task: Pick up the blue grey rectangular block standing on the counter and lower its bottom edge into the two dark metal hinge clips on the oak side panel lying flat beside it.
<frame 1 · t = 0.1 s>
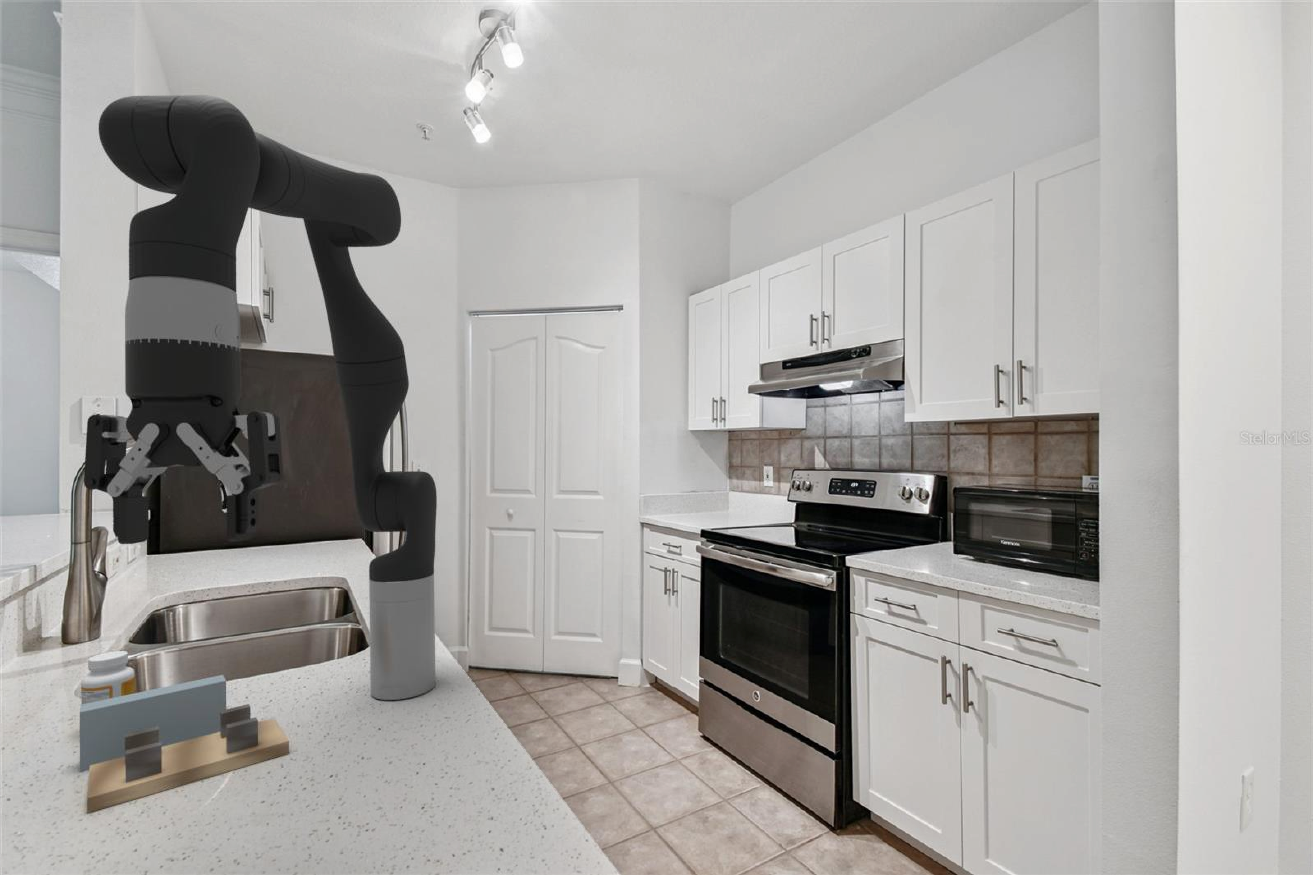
hand: (186, 541, 50), 29 cm above the counter, tool pointing down, fingers open, 8 cm apart
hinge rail: (192, 765, 72), on the counter
supplement bottle: (108, 729, 83), on the counter
blue grey rectangular block: (157, 748, 77), on the counter
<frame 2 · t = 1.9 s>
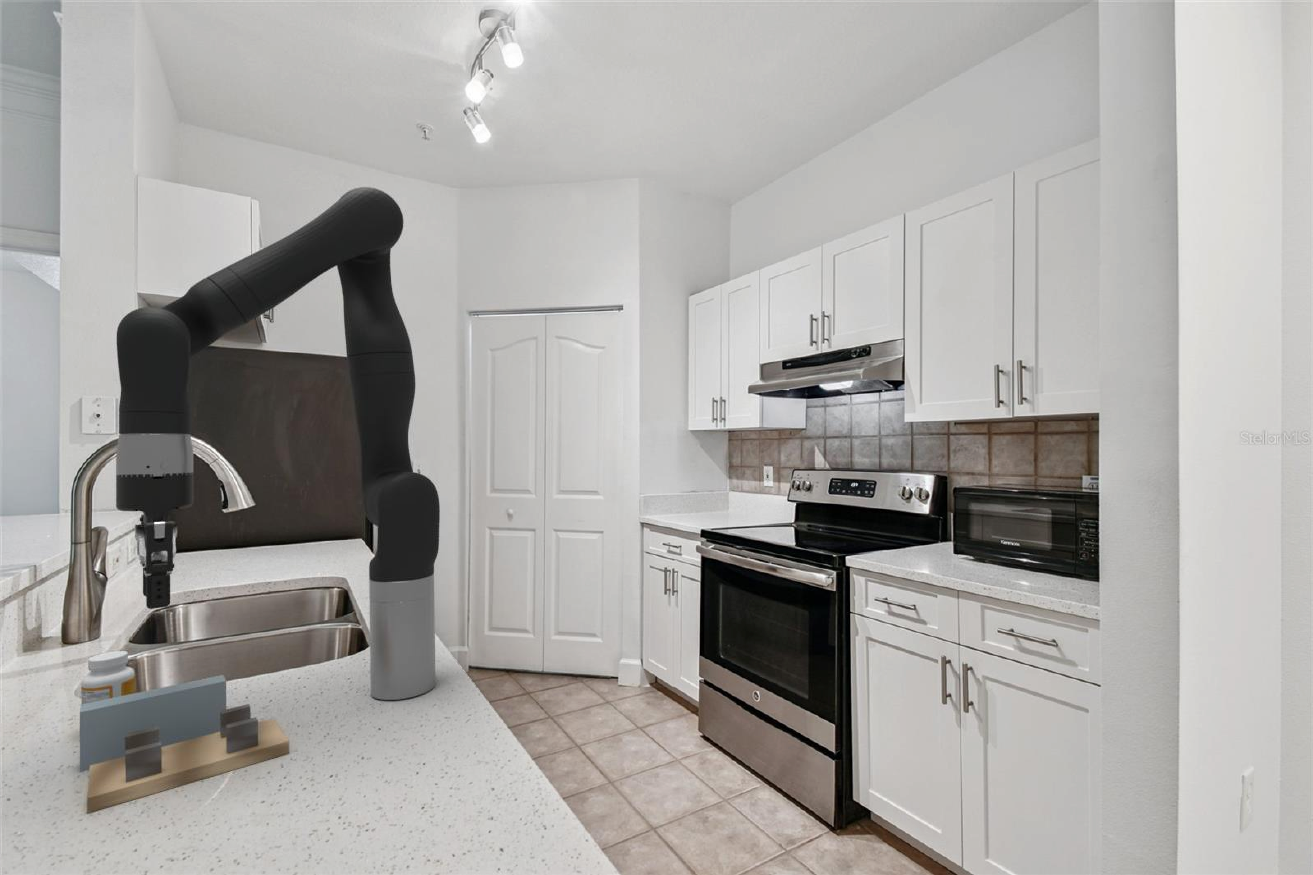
hand: (156, 601, 77), 18 cm above the counter, tool pointing down, fingers open, 8 cm apart
nothing on the counter moved.
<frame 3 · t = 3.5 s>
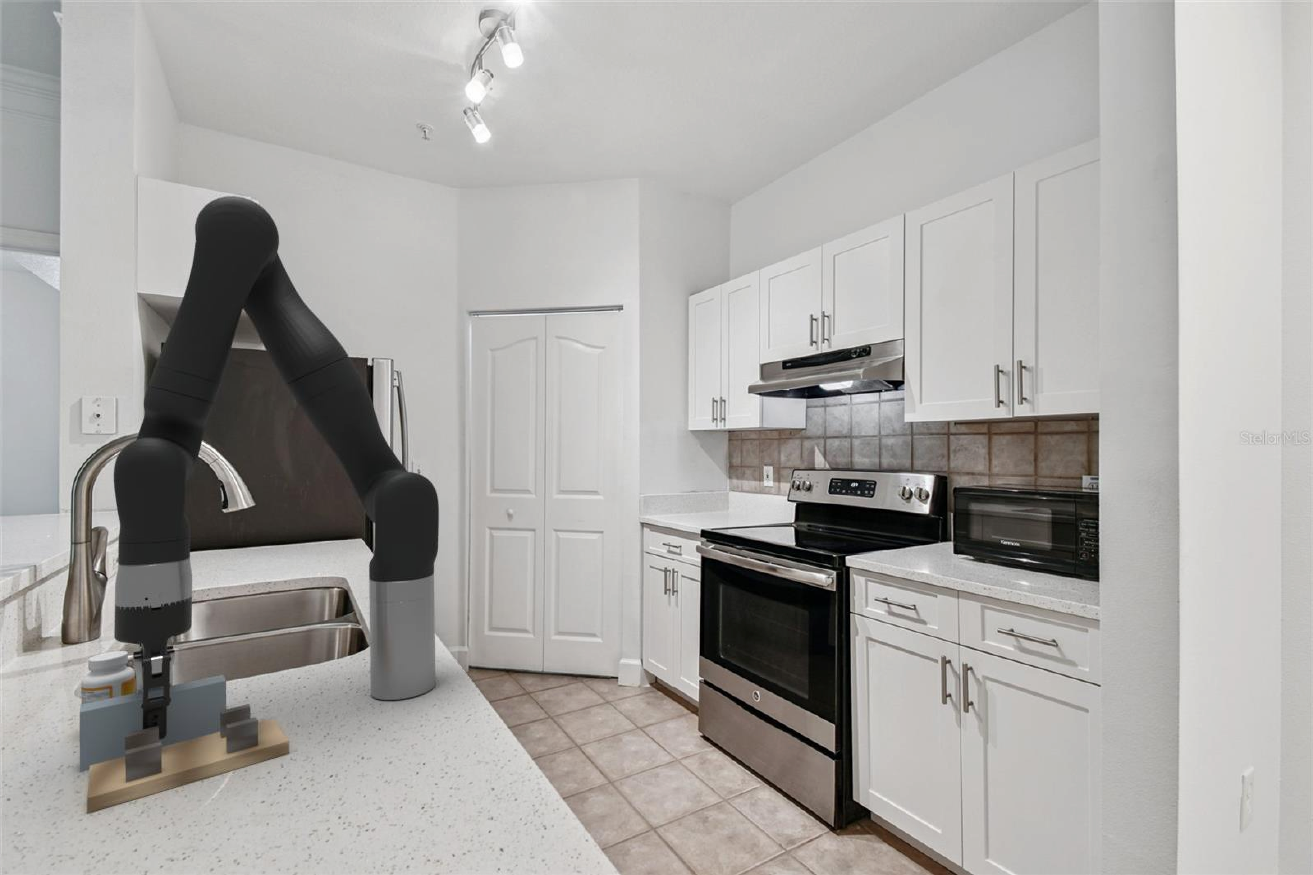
hand: (152, 728, 77), 2 cm above the counter, tool pointing down, fingers open, 8 cm apart
nothing on the counter moved.
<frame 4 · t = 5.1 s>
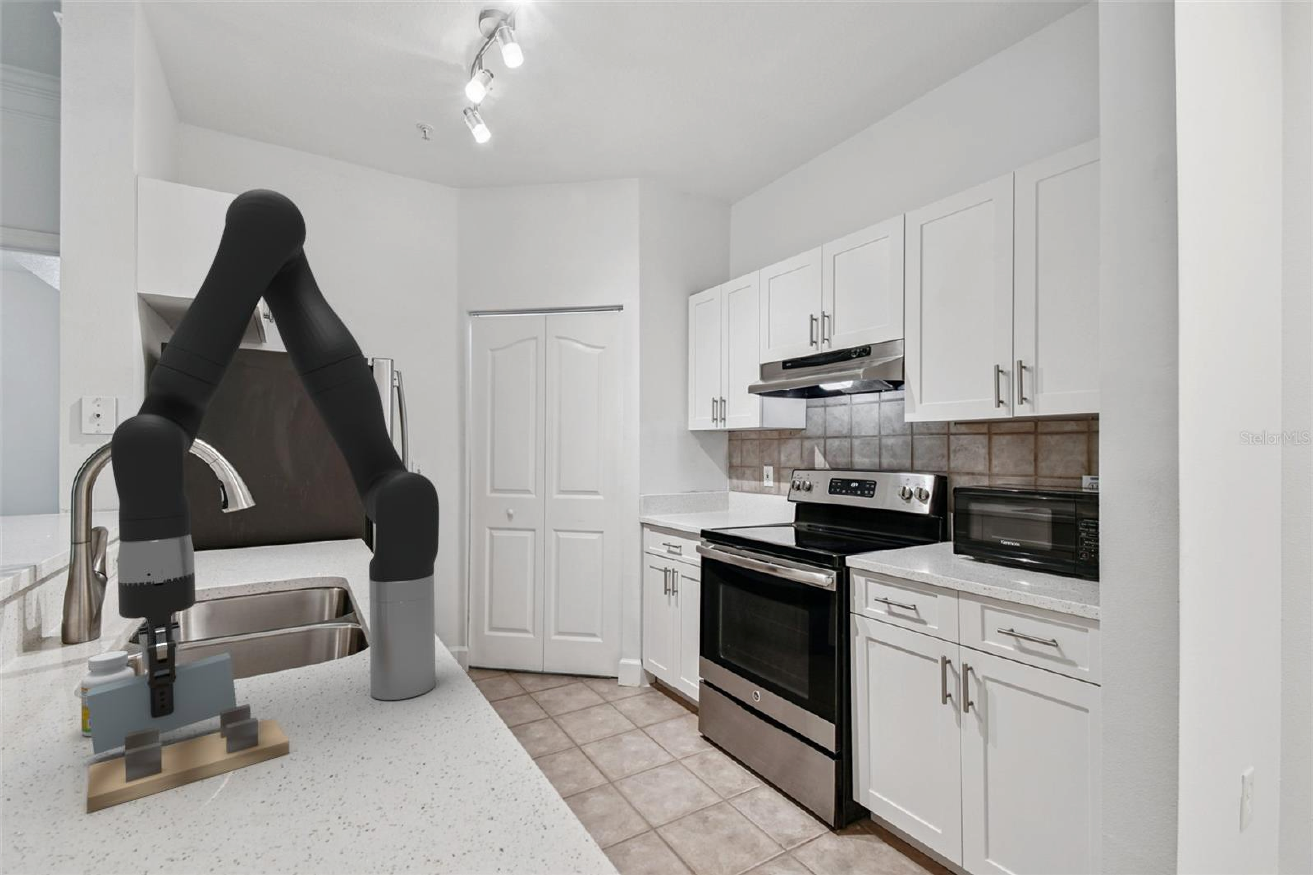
hand: (161, 710, 78), 4 cm above the counter, tool pointing down, fingers closed on blue grey rectangular block, 3 cm apart
blue grey rectangular block: (169, 727, 78), point 2 cm above the counter, tilted 5°, touching gripper
everything else where it was.
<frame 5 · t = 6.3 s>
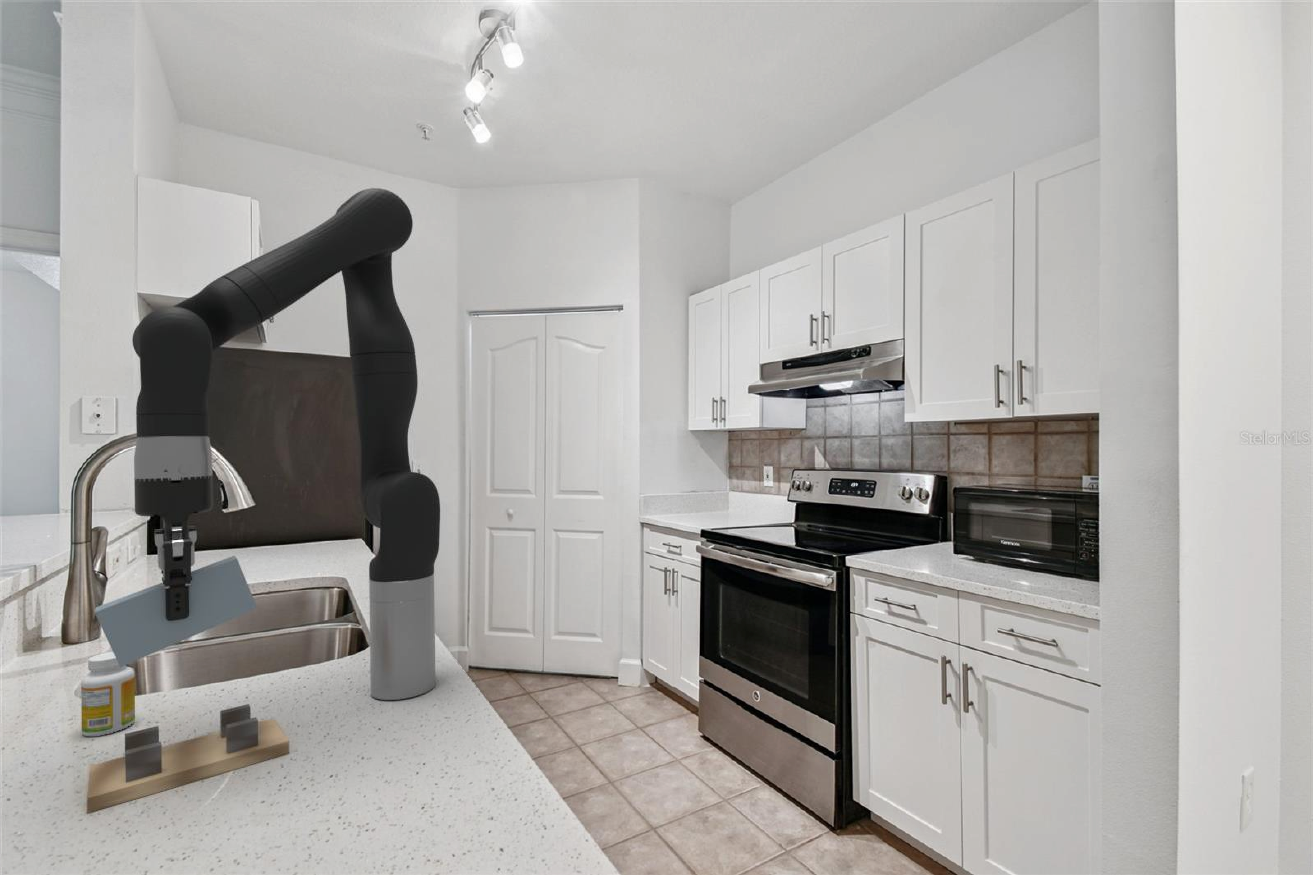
hand: (177, 615, 75), 17 cm above the counter, tool pointing down, fingers closed on blue grey rectangular block, 3 cm apart
blue grey rectangular block: (192, 633, 76), point 14 cm above the counter, tilted 18°, touching gripper
everything else where it was.
when the fingers open (4 cm above the counter, at t = 8.6 s): blue grey rectangular block stays where it is, resting on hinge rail.
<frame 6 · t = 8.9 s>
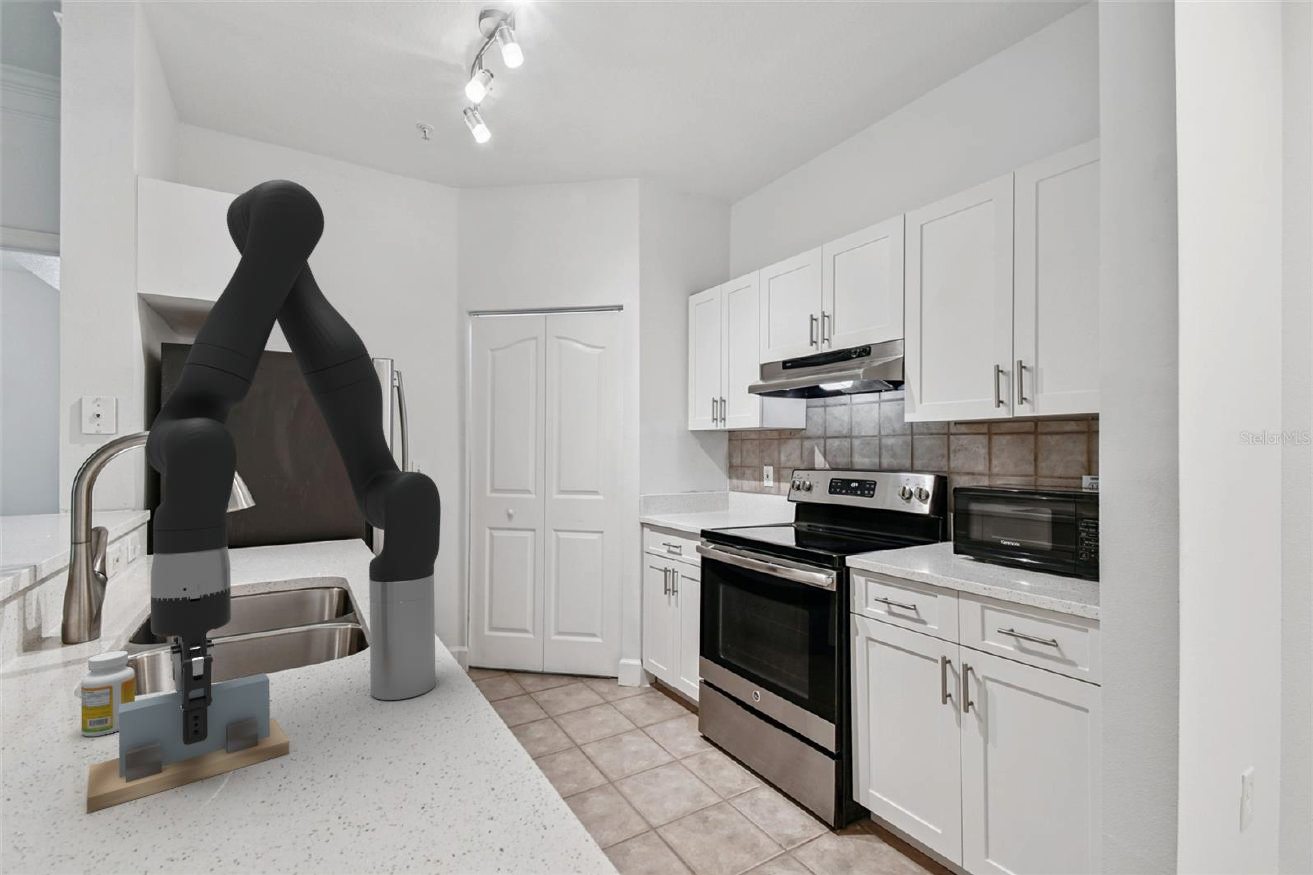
hand: (192, 732, 72), 4 cm above the counter, tool pointing down, fingers open, 5 cm apart
blue grey rectangular block: (198, 751, 73), point 1 cm above the counter, touching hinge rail
everything else where it was.
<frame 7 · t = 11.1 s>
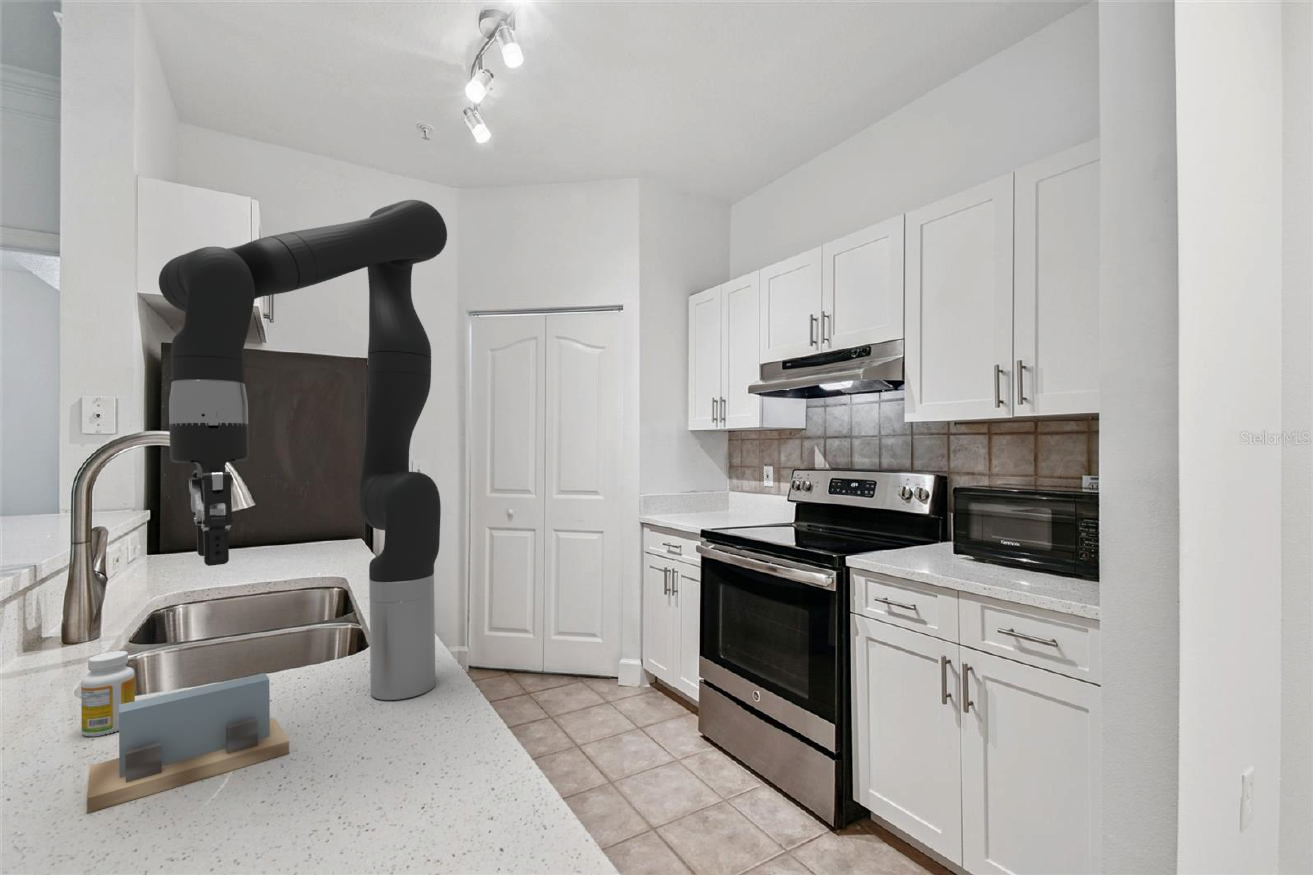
hand: (212, 559, 72), 24 cm above the counter, tool pointing down, fingers open, 8 cm apart
nothing on the counter moved.
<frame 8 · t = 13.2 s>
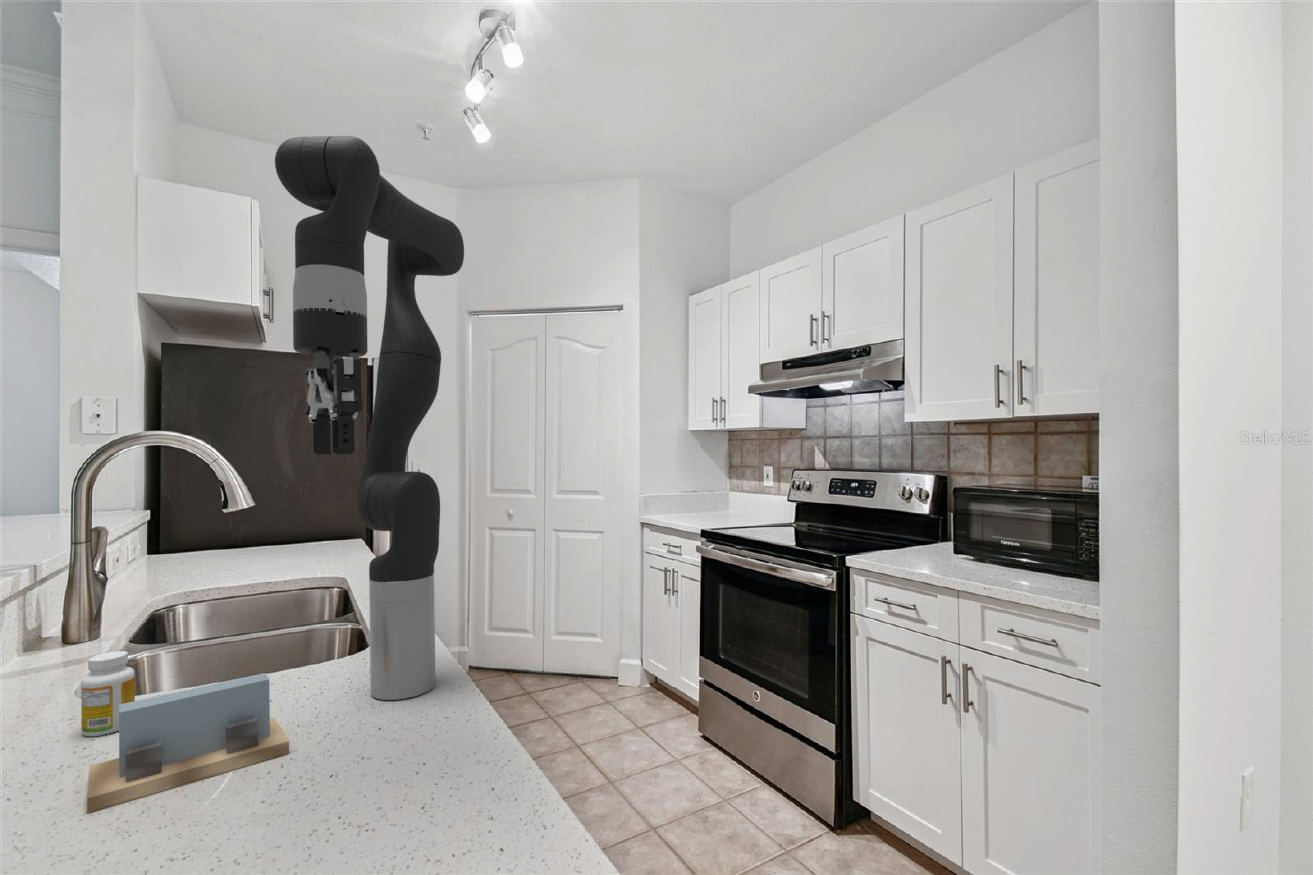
hand: (332, 454, 70), 36 cm above the counter, tool pointing down, fingers open, 8 cm apart
nothing on the counter moved.
at the end: blue grey rectangular block inside the target area on the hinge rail (0.5 cm from its centre), point 1.5 cm above the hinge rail's base; blue grey rectangular block tilted 0°; the gripper is holding nothing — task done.
